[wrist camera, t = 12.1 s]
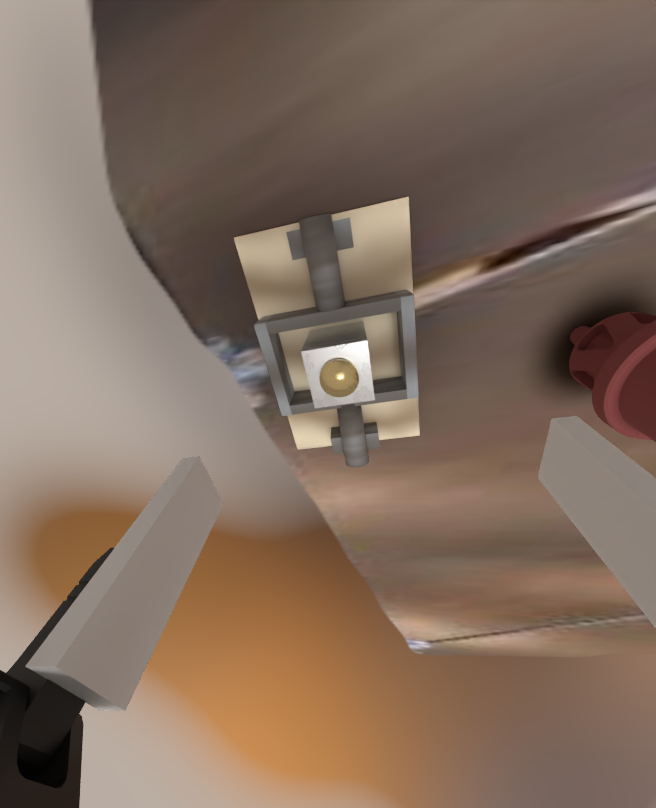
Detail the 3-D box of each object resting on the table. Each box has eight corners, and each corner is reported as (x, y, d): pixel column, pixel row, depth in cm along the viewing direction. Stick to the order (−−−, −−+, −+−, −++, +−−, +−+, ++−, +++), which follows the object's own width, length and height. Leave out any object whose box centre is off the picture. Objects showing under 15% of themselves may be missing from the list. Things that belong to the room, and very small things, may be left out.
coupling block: (310, 330, 27) (299, 354, 21) (363, 320, 26) (367, 342, 20) (320, 378, 29) (314, 412, 23) (369, 371, 28) (375, 403, 23)
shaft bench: (238, 237, 24) (208, 236, 19) (405, 198, 22) (423, 185, 17) (299, 443, 35) (290, 478, 30) (417, 429, 33) (430, 464, 28)
